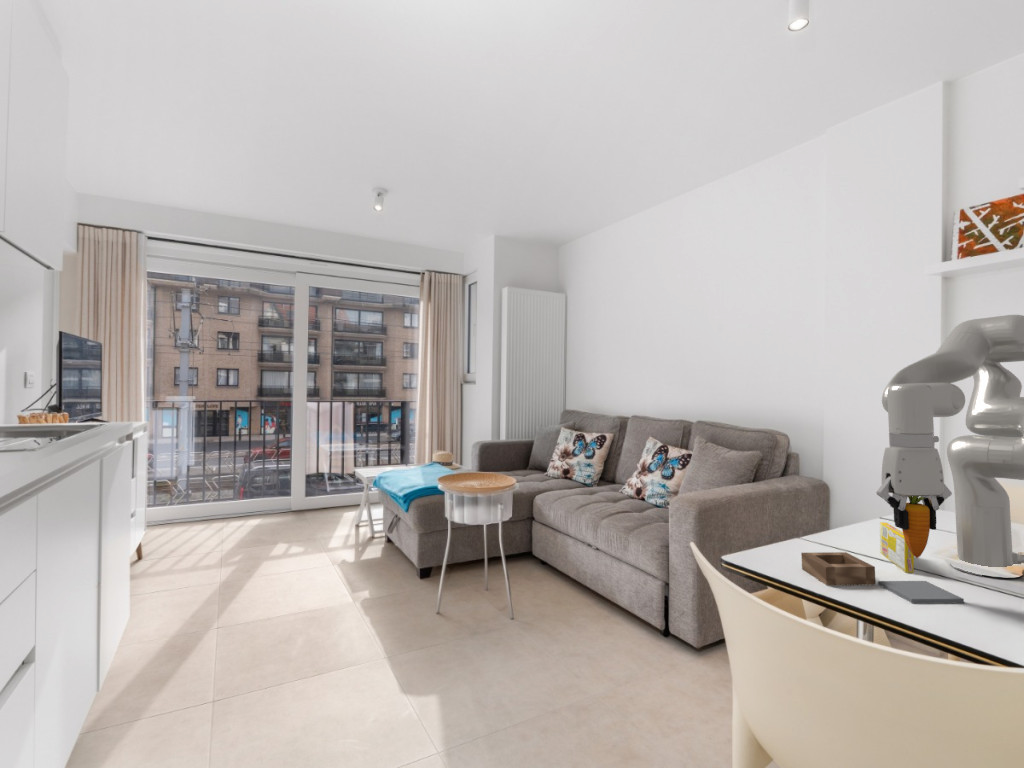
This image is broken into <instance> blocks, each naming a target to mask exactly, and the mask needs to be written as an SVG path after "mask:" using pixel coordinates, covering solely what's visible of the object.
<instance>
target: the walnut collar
mask: <svg viewBox="0 0 1024 768" xmlns="http://www.w3.org/2000/svg"><path fill="white" fill-rule="evenodd" d="M800 556H801V569H802V570H803V572H805V573H807V574H809V575H810V576H812V577H813V578H814V579H816V580H818V581H820V582H821V583H823V584H824V585H825V586H876V585H877V584H876V583H877V582H876V567H875V566H874V565H872V564H870V563H868V562H866V561H864V560H862V559H860V558H858V557H857V556H854V555H852V554H851V553H848V552H846V551H843V552H841V551H839V552H838V551H837V552H834V551H831V552H829V551H827V552H825V551H824V552H801V555H800Z"/></svg>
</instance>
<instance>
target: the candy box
mask: <svg viewBox="0 0 1024 768" xmlns="http://www.w3.org/2000/svg"><path fill="white" fill-rule="evenodd" d="M879 543H880V544H879V550H880V551H879V553H880V554H881V555H883V556H884V557H885V558H886V559H888V560H889V561H890V562H892V563H893V564H894V565H895V566H896V567H898V568H899V569H900V570H901V571H903V572H904V573H906V574H914V573H915V572H914V571H915V556H914V555H913V554H912V553H911V551H910V549H909V548H908V546H907V543H906V541H905V538H904V534H903V531H901V530H899V529H898V528H896V526H895V527H894V526H893V525H891V524H889V523H888V522H881V521H879Z"/></svg>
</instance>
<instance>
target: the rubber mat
mask: <svg viewBox="0 0 1024 768" xmlns="http://www.w3.org/2000/svg"><path fill="white" fill-rule="evenodd" d="M877 583H878V586H880V587H881V588H884V589H885V590H888V591H889V592H891V593H892V594H895V595H896V596H899V597H900V598H901V599H903V600H905V601H907V602H909V603H911V604H964V602H965V599H964V598H963V597H960V596H959V595H957V594H954V593H952V592H950V591H948V590H945V589H944V588H941V587H939V586H937V585H935V584H934V583H931V582H929V581H927V580H878V581H877Z"/></svg>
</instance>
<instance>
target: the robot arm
mask: <svg viewBox="0 0 1024 768" xmlns="http://www.w3.org/2000/svg"><path fill="white" fill-rule="evenodd" d="M1012 362H1013V363H1014V362H1015V363H1017V362H1024V315H1023V314H1006V315H999V316H991V317H983V318H974V319H968V320H965V321H962V322H960V323H959V324H958V325H956V326H955V327H954V328H953V329H952V331H950V333H949V334H948V336H947V337H946V338H945V340H944V341H943V342H942V344H941V345H940V346H939V348H938V350H936V352H934V353H932V354H930V355H928V356H925V357H923V358H921V359H919V360H917V361H916V362H913V363H911V364H909V365H907V366H905V367H903V368H902V369H900V370H899V371H897V372H896V373H895V374H894V375H893V377H892V378H891V379H890V380H889V382H888V383H887V385H886V386H885V388H884V390H883V392H882V396H881V404H882V407H883V409H884V411H886V413H887V416H888V417H887V418H888V419H887V420H888V441H889V443H888V444H889V447H885V449H884V453H883V458H882V462H881V463H882V464H881V465H882V467H881V485H880V487H879V488H878V489H877V491H876V492H875V493H876V495H877V496H878V497H880V498H881V499H883V500H884V501H885V502H886V503H887V504H888V505H890V507H891V508H892V509H893V522H894V526H895V528H896V527H897V529H898V528H899V529H901V530H902V529H904V530H908V529H909V519H908V511H906V510H905V506H906V503H908V502H907V501H908V499H909V498H908V496H912V497H913V496H919V497H923V498H924V499H922V500H921V502H922V504H923V505H925V506H927V507H928V508H929V510H930V530H935V531H936V530H937V511H939V510H940V506H941V505H942V504H943V503H944V502H945V500H947V499H948V498H949V497H951V496H952V494H953V493H954V510H955V513H954V514H955V528H956V542H957V543H956V545H957V547H956V549H957V557H959V559H960V560H962V561H965V562H968V563H971V564H977V565H981V566H988V567H1007V566H1012V565H1013V564H1020V565H1021V564H1024V554H1018V553H1016V552H1013V540H1012V538H1013V537H1012V522H1011V521H1012V519H1011V503H1010V502H1011V501H1010V497H1009V495H1008V492H1007V491H1006V489H1005V488H1004V487H1003V486H1002V484H1001V483H1000V482H999V481H998V480H997V479H1007V480H1008V479H1009V480H1018V481H1024V396H1021V394H1022V393H1021V392H1022V387H1023V385H1022V382H1021V379H1019V377H1017V376H1016V374H1014V373H1013V372H1012V371H1010V370H1009V369H1007V368H1006V367H1004V366H1003V365H1002V364H1001V363H1012ZM971 377H973V389H972V392H971V396H970V399H969V402H968V406H967V410H966V415H965V425H966V426H965V427H966V428H967V429H968V430H969V431H970V432H971V433H973V435H969V434H968V435H967V434H966V435H962V436H957V437H955V438H953V439H952V440H950V442H948V445H947V448H946V455H947V461H948V464H949V468H950V471H951V476H952V480H953V481H952V482H953V490H954V492H953V493H952V491H951V490H950V489H949V488H948V486H947V485H946V484H945V480H944V479H945V477H944V470H943V466H942V465H943V464H942V460H941V457H940V453H939V449H938V448H935V445H936V443H938V442H940V438H939V436H936V435H935V428H934V427H935V426H934V424H935V423H934V418H950V417H954V416H956V415H957V414H959V413H960V412H962V410H963V409H964V407H965V404H966V397H965V396H966V395H965V393H964V392H963V390H962V389H961V388H960V387H959V386H957V385H956V384H953V383H956V382H960V381H963V380H966V379H968V378H971ZM974 434H975V435H974ZM890 494H892V495H890ZM951 567H952V568H954V569H956V570H959V571H961V572H964V573H968V574H971V575H975V576H981V577H983V576H982V575H979V574H975V573H972V572H968V571H964V570H961V569H958V568H955V567H953V566H951Z"/></svg>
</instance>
